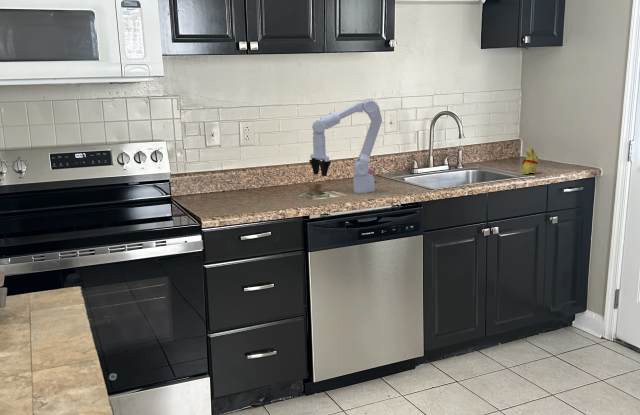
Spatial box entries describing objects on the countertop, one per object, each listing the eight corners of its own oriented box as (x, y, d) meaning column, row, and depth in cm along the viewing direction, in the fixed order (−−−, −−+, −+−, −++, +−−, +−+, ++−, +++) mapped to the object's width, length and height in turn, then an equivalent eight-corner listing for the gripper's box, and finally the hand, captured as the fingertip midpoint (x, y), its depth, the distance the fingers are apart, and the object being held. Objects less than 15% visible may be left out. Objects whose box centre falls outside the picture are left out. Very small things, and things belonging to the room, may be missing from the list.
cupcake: (356, 181, 333) (356, 159, 331) (371, 180, 336) (371, 157, 334) (363, 184, 326) (363, 160, 323) (378, 182, 328) (378, 159, 326)
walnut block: (317, 195, 294) (317, 182, 293) (322, 196, 291) (321, 183, 289) (308, 196, 292) (308, 183, 291) (313, 197, 288) (313, 184, 287)
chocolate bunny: (540, 173, 342) (541, 145, 339) (527, 175, 336) (528, 147, 333) (530, 172, 347) (531, 144, 344) (516, 174, 342) (517, 146, 339)
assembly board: (332, 193, 304) (332, 188, 303) (348, 197, 292) (347, 192, 291) (299, 197, 295) (298, 192, 295) (313, 202, 283) (313, 197, 283)
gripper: (304, 145, 299) (305, 174, 302) (319, 148, 287) (320, 178, 290) (317, 144, 303) (318, 172, 305) (332, 147, 290) (333, 176, 293)
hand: (320, 175), depth 298 cm, fingers open, 7 cm apart
